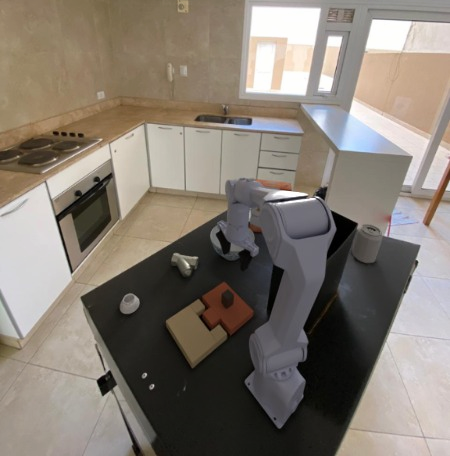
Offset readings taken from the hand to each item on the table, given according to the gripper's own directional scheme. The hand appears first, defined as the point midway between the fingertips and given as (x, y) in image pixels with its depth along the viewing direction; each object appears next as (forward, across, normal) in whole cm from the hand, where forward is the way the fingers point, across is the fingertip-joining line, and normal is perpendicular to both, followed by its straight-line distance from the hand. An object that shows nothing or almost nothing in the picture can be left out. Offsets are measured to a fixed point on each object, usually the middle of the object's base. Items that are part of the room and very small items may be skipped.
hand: (234, 260), depth 71 cm
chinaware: (+11, +11, -9) cm, 18 cm away
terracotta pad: (+10, -4, +7) cm, 13 cm away
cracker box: (+11, +12, -29) cm, 33 cm away
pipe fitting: (+11, +15, +8) cm, 20 cm away
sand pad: (+10, -4, +16) cm, 19 cm away
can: (+11, -19, -45) cm, 50 cm away
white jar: (+11, +13, +26) cm, 31 cm away
